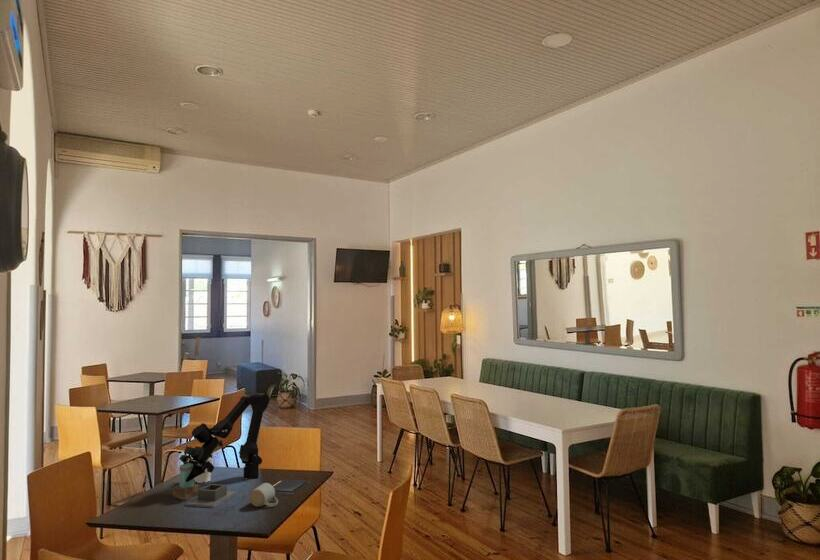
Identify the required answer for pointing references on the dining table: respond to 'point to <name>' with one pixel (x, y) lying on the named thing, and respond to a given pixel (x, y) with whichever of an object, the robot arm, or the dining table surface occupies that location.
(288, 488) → the grey flat slab
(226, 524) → the dining table surface
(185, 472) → the plug
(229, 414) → the robot arm
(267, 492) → the ceramic mug
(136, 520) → the dining table surface
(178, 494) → the holster
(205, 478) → the white cup
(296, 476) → the dining table surface
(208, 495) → the port board
